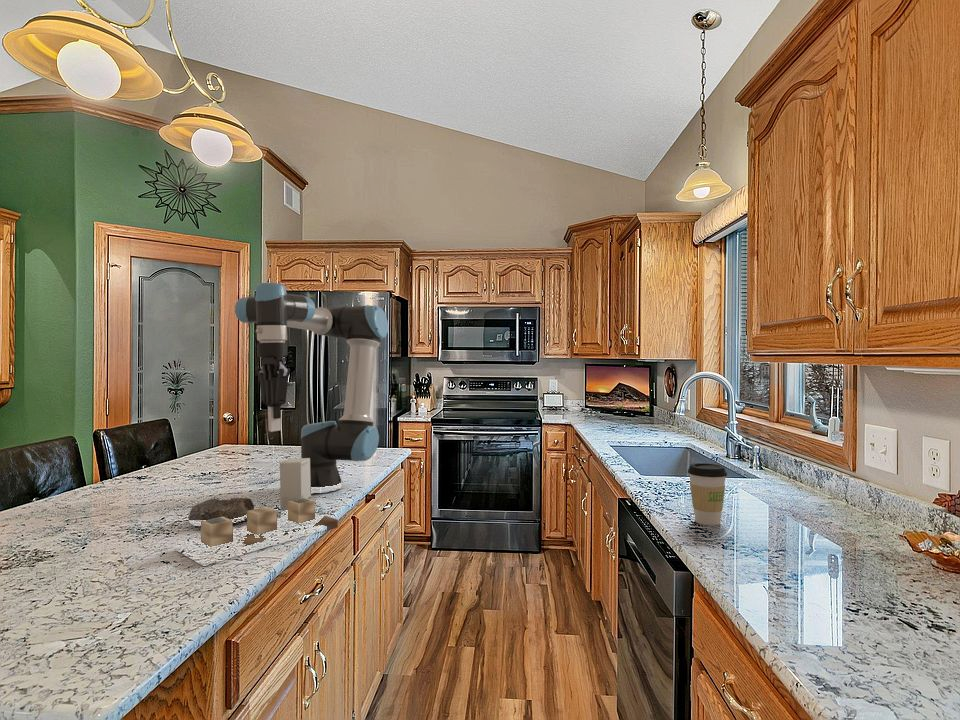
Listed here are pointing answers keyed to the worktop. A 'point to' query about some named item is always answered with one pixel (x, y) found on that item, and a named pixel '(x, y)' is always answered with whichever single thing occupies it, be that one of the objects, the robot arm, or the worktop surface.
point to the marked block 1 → (216, 531)
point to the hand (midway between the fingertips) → (274, 430)
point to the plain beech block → (261, 520)
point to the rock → (221, 509)
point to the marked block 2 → (301, 510)
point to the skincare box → (294, 480)
